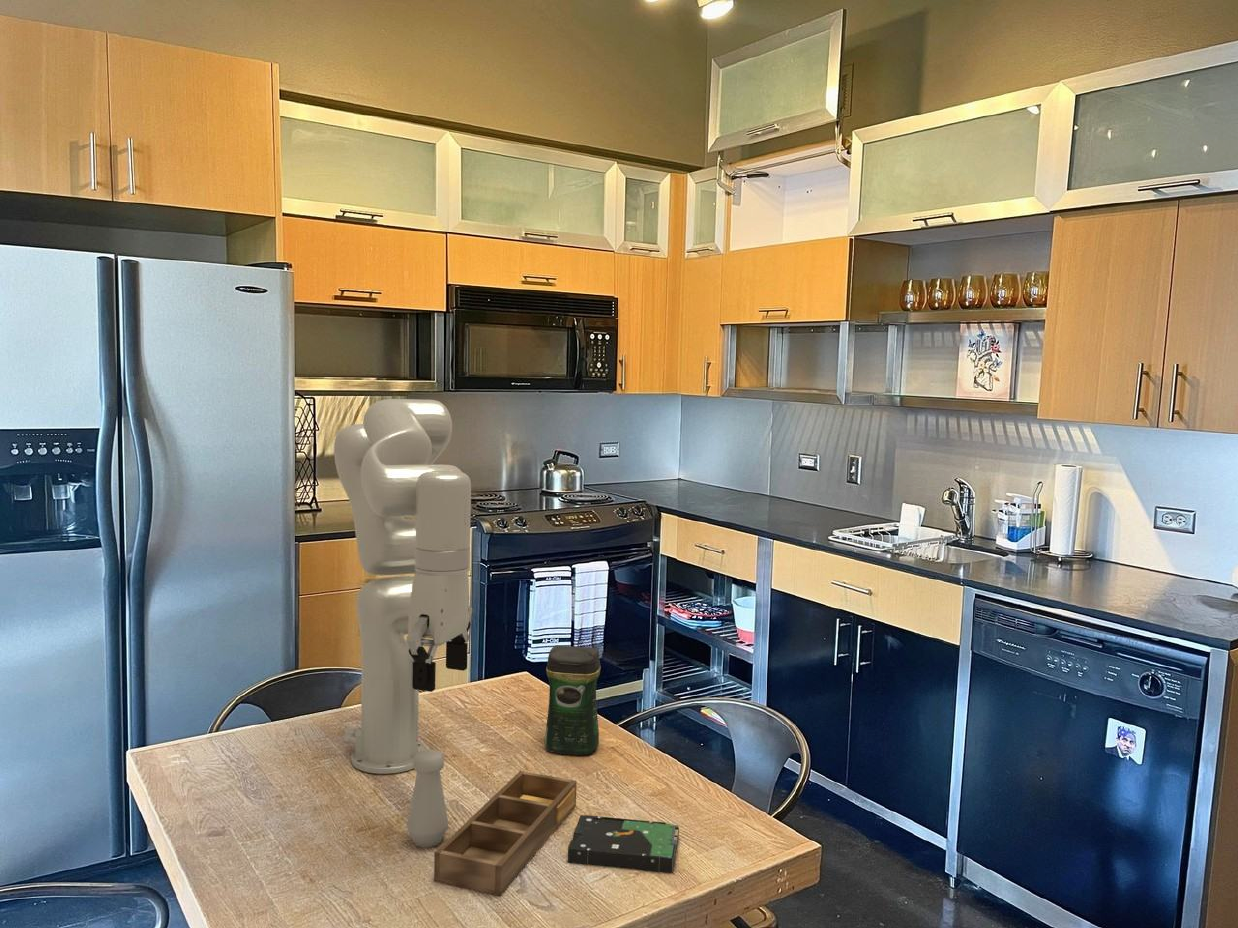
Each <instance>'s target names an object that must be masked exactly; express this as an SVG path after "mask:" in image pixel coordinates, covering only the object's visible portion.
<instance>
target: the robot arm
mask: <svg viewBox="0 0 1238 928" xmlns="http://www.w3.org/2000/svg"><path fill="white" fill-rule="evenodd" d="M452 432H453V421H452V417H451V414H450V412H449V409H448V408H447V407H446V406H445V405H444V404H443V403H442V402H441V401H439V400H435V399H417V398H416V399H414V398H413V399H412V398H411V399H410V398H405V399H404V398H388V399H387V398H386V399H381V400H378V401H376V402H374V403H372V404H371V405H369V407H368V408H367V409H366V411H365V413H364V415H363V420H362V423H358V424H357V423H356V424H351V425H348V426H345V427H343V428H341V429H340V430H339V431H338V432H337V434H336V436H335V438H334V443H333V444H334V445H333V455H334V462H335V463H334V464H335V467H336V472H337V475H338V478H339V481H340V483H341V485H342V487H343V490H344V491H345V493H346V495H347V497H348V498H347V499H348V500H349V503H350V505H351V509H352V515H353V516H352V517H353V523H354V524H353V525H354V532H355V539H356V540H355V541H356V546H357V547H356V548H357V553H358V558H359V562H360V564H361V568H362V569H363V571H364V572H365V573H366V574H368V575H371V576H397V577H383V578H378V579H373V580H371V581H369V582H367V583H365V584H364V585H362V587H361V588H360V589H359V591H358V592H357V595H356V600H355V601H356V602H355V603H356V614H357V622H358V629H359V635H360V636H359V637H360V648H361V650H360V651H361V699H360V700H361V701H360V705H361V707H360V711H361V712H360V721H361V723H360V725H361V727H360V728H358V727H351V726H350V727H349V726H347V728H346V729H345V730H344V735H343V737H342V743H344V744H348V745H351V744H352V745H354V746H355V747H354V748H355V749H354V750H353V752H352V753H351V764H352V766H353V767H355V769H358V770H359V771H362V772H365V773H368V774H369V773H370V774H376V775H377V774H378V775H387V774H388V775H389V774H399V773H403V772H407V771H411V770H414V764H413V759H414V756H415V755H416V754H417V753H418V752H419V751H422V750H426V749H427V747H426V746H425V745H424V744H423V743H420V742H419V691H423V692H431V693H432V692H434V691H435V690H436V672H437V671H436V669H437V667H436V662H435V661H433V660H434V658H435V656H436V655H435V654H436V652H437V649H438V647H439V646H440V647H441V646H442V645H444V644H445V668H446V669H449V670H456V671H466V670H467V669H468V649H469V648H468V646H469V644H468V642H469V641H470V635H469V634H470V633H469V632H470V631H469V630H470V628H471V625H472V623H471V618H472V615H473V607H472V606H470V584H469V574H468V573H469V571H470V569H471V564H470V563H471V560H470V559H471V518H472V517H471V512H472V510H471V509H472V505H471V504H472V502H471V501H472V483H471V482H472V481H471V479H470V477H469V475H468V474H466V473H465V472H462V470H461V469H460V468H459V467H457V466H455V465H452V464H434V463H435V462H436V461H437V459H438V458H439V457H440V456H441V455H442V454H443V452H444V451H445V450H446V448H447V447H448V445H449V443H450V440H451V438H452ZM405 517H407V518H408V517H415V519H414V520H413V519H406V518H405ZM400 575H401V576H400ZM402 575H409V576H402ZM410 575H413V576H410ZM398 576H399V577H398ZM405 635H407V636H406V639H405ZM425 647H428V650H426V649H425Z"/></svg>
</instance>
